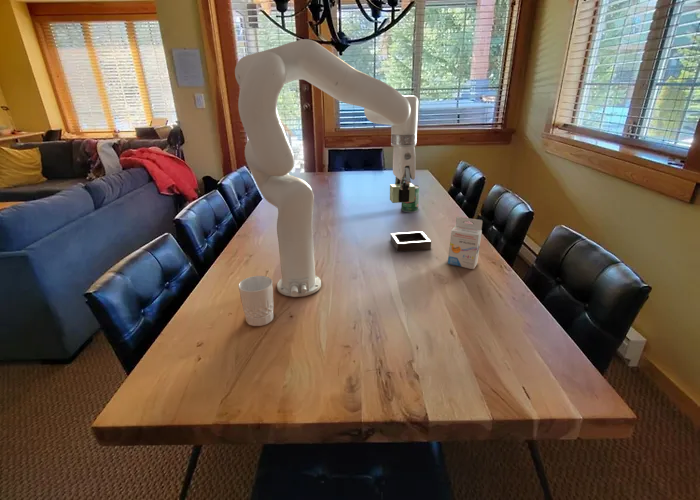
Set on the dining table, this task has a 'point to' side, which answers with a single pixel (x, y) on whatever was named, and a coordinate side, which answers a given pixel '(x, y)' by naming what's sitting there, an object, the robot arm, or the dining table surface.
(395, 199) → the light green block
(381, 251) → the dining table surface
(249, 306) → the white cup
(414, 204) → the canned tomato
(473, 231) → the ink box
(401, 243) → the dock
